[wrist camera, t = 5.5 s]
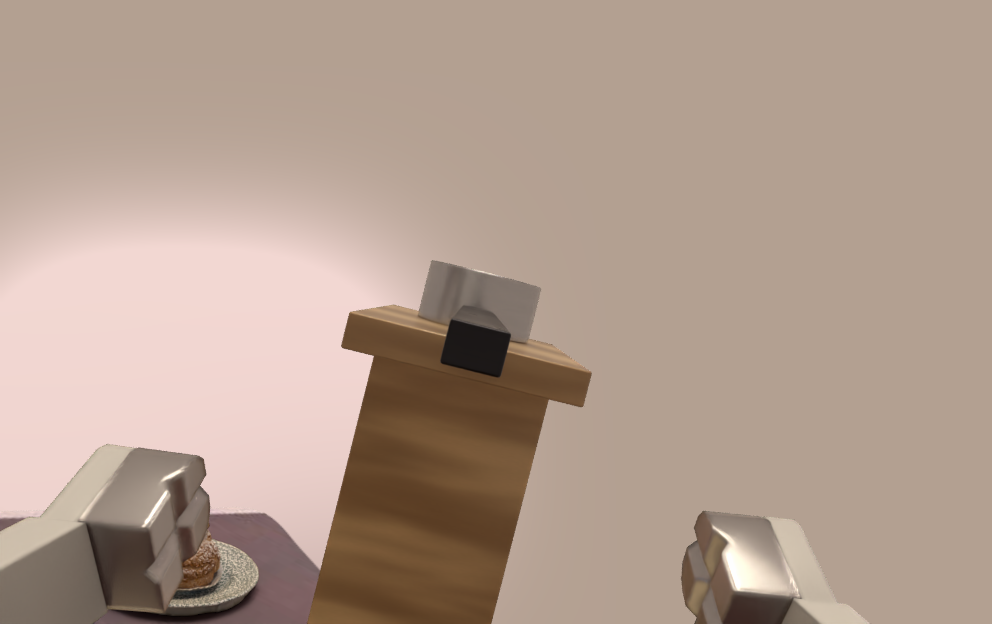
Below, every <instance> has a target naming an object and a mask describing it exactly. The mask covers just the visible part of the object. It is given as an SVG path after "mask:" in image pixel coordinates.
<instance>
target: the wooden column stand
mask: <svg viewBox="0 0 992 624" xmlns="http://www.w3.org/2000/svg"><path fill="white" fill-rule="evenodd" d="M418 312H419V311H416V310H412V309H408V308H404V307H400V306H396V305H389V306H383V307H377V308H371V309H365V310H359V311H353V312H350V313H349V316H348V320H347V325H346V328H345V332H344V337H343V341H342V345H341V347H342V348H344V349H348V350H353V351H356V352H360V353H365V354H368V355H373V356H374V358H373V362H372V366H371V370H370V374H369V378H368V382H367V386H366V390H365V394H364V398H363V402H362V406H361V410H360V414H359V418H358V422H357V426H356V430H355V434H354V438H353V442H352V446H351V450H350V454H349V458H348V462H347V466H346V470H345V474H344V478H343V482H342V486H341V490H340V494H339V498H338V502H337V506H336V510H335V514H334V518H333V522H332V526H331V530H330V534H329V538H328V542H327V546H326V550H325V554H324V558H323V562H322V566H321V570H320V574H319V578H318V582H317V586H316V590H315V594H314V598H313V602H312V606H311V610H310V614H309V618H308V622H307V624H491V622H492V619H493V614H494V611H495V607H496V603H497V599H498V595H499V591H500V587H501V584H502V579H503V575H504V572H505V568H506V564H507V560H508V556H509V552H510V548H511V544H512V541H513V537H514V533H515V529H516V525H517V521H518V517H519V513H520V509H521V506H522V501H523V497H524V494H525V490H526V486H527V482H528V478H529V474H530V470H531V466H532V463H533V459H534V455H535V451H536V447H537V443H538V439H539V435H540V431H541V427H542V423H543V420H544V416H545V412H546V408H547V404H548V400H549V399H550V400H553V401H558V402H562V403H566V404H570V405H574V406H578V407H583V405H584V401H585V398H586V394H587V390H588V386H589V382H590V378H591V374H592V373H591V372H590V371H589V370H587V369H586V368H585V367H583V366H582V365H580V364H579V363H577V362H576V361H575V360H573V359H572V358H570V357H569V356H567V355H566V354H564V353H563V352H562V351H560V350H559V349H557V348H556V347H554V346H553V345H552V344H548V343H544V342H540V341H536V340H532V339H528V343H517V342H512V341H510V343H509V347H508V351H507V355H506V359H505V363H504V367H503V371H502V374H501V376H500V377H499V378H496V377H492V376H488V375H484V374H480V373H476V372H472V371H468V370H464V369H460V368H456V367H452V366H448V365H444V364H442V363H440V358H441V354H442V350H443V346H444V342H445V338H446V334H447V330H448V327H449V326H446V325H442V324H439V323H436V322H432V321H429V320H426V319H424V318H421V317H419V316H418Z"/></svg>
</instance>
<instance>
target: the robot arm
mask: <svg viewBox="0 0 992 624" xmlns="http://www.w3.org/2000/svg"><path fill="white" fill-rule="evenodd" d="M205 476H206V470H205V464H204V459H203V458H201V457H200V456H197V455H189V454H182V453H175V452H167V451H160V450H152V449H145V448H132V447H125V446H118V445H110V444H106V445H104V446H102V447H100V448H98V449H97V450H96V451H95V452H94V454H93V455H92V456H91V457H90V458H89V459H88V461H87V462H86V463H85V464H84V465H83V466H82V468H81V469H80V470H79V471H78V472H77V474H76V475H75V476H74V477H73V478H72V479H71V481H70V482H69V483H68V484H67V485H66V487H65V488H64V489H63V490H62V492H61V493H60V494H59V495H58V496H57V497H56V498H55V500H54V501H53V502H52V503H51V504H50V506H49V507H48V508H47V509H46V510H45V511H44V513H43V514H42V515H41V516H40V517H39V518H37V517H28V518H26V519H24V520H22V521H20V522H18V523H16V524H14V525H12V526H10V527H8V528H6V529H4V530H2V531H0V624H93V623H94V622H96V621H97V620H98V619H99V618H101V617H102V616H103V615H105V614H106V613H107V609H116V610H129V611H142V612H156V613H165V611H166V609H167V608H168V606H169V604H170V602H171V600H172V598H173V596H174V595H175V593H176V591H177V589H178V587H179V585H180V583H181V582H182V580H183V578H184V574H183V567H182V563H183V562H184V561H186V560H188V559H189V558H191V557H192V556H194V555H195V554H196V553H197V551H198V549H199V547H200V545H201V543H202V541H203V539H204V537H205V533H206V530H207V526H208V523H209V515H210V502H209V495H208V494H207V493H206V492H205V491H204V490H203V488H202V487H201V486H200V485H201V483H202V481H203V479H204V477H205ZM694 529H695V533H696V537H697V541H695V542H694V543H692V544H691V545H689V546H688V547H687V549H686V553H685V556H684V559H683V564H682V577H681V580H682V591H683V596H684V600H685V605H686V606H687V608H688V609H689V610H690V611H691V612H692V613H693V614H694V615H695V616H696V617H697V618H696V621H695V623H694V624H870V623H869V622H868V621H866V620H865V619H864V618H863V617H862V616H860V615H859V614H858V613H857V612H856V611H854V610H853V609H852V608H851V607H850V606H849V605H847V604H840V603H838V602H837V600H836V598H835V596H834V594H833V592H832V590H831V588H830V586H829V584H828V582H827V580H826V577H825V575H824V573H823V571H822V569H821V567H820V565H819V563H818V561H817V559H816V557H815V555H814V553H813V551H812V549H811V546H810V544H809V543H808V540H807V538H806V536H805V534H804V532H803V530H802V528H801V526H800V524H799V523H798V522H796V521H795V520H793V519H783V518H772V517H759V516H750V515H740V514H730V513H719V512H710V511H703V512H702V513H701V514H700V515H699V516H698V518H697V521H696V524H695V526H694Z"/></svg>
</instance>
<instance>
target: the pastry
mask: <svg viewBox="0 0 992 624" xmlns="http://www.w3.org/2000/svg"><path fill="white" fill-rule="evenodd" d="M209 526H210V525H209V523H208V526H207V530H206V533H205V537H204V539H203V541H202V543H201V545H200V547H199V549H198V551H197V553H196V554H195V555H194V556H192V557H191V558H189V559H188V560H186V561H184V562H183V563H182V567H183V574H184V578H183V580H182V582H181V583H180V585H179V587H178V589H177V591H176V593H175V595H174V596H173V598H172V600H171V602H170V604H169V606H168V608H167V609H166V611H165V613H161V615H166V614H167V615H172V616H181V615H182V616H188V615H197V614H201V613H206V612H211V611H212V612H220V611H221V610H222V611H224V610H227V609H229V608H231V607H233V606H234V605H237V604H238V603H240V602H241V601H242V600H243V599H244V597H245V596H246V595H247V594H248V593H249V591H251V589H253V588H254V586H255V585H256V584H257V581H258V577H259V575H258V568H257V566H256V564H255V563H254V562H253V560H252V559H251V558H250V557H249V556H248V555H247V554H246V553H244V552H243V551H241V550H240V549H238V548H236V547H234V546H231V545H229V544H226V543H222V542H219V541H216V540H214V539H211V534H210V532H209V531H208V528H209ZM150 613H156V612H150ZM157 614H160V613H157Z"/></svg>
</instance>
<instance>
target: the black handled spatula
mask: <svg viewBox="0 0 992 624" xmlns="http://www.w3.org/2000/svg"><path fill="white" fill-rule="evenodd" d="M540 292H541V288H540V287H537V286H533V285H530V284H527V283H523V282H520V281H516V280H512V279H508V278H505V277H501V276H497V275H493V274H490V273H486V272H481V271H478V270H474V269H469V268H465V267H461V266H457V265H452V264H448V263H444V262H439V261H433V260H432V261H431V265H430V268H429V272H428V277H427V280H426V284H425V288H424V292H423V296H422V300H421V304H420V309H419V312H418V316H419V317H421V318H424V319H426V320H429V321H432V322H436V323H439V324H442V325H446V326H449V327H448V330H447V334H446V338H445V342H444V346H443V350H442V354H441V358H440V363H442V364H444V365H448V366H452V367H456V368H460V369H464V370H468V371H472V372H476V373H480V374H484V375H488V376H492V377H496V378H499V377H500V376H501V374H502V371H503V367H504V363H505V359H506V355H507V351H508V347H509V343H510V341H512V342H517V343H528V339H529V335H530V331H531V327H532V323H533V319H534V316H535V311H536V308H537V303H538V300H539V296H540Z"/></svg>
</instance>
